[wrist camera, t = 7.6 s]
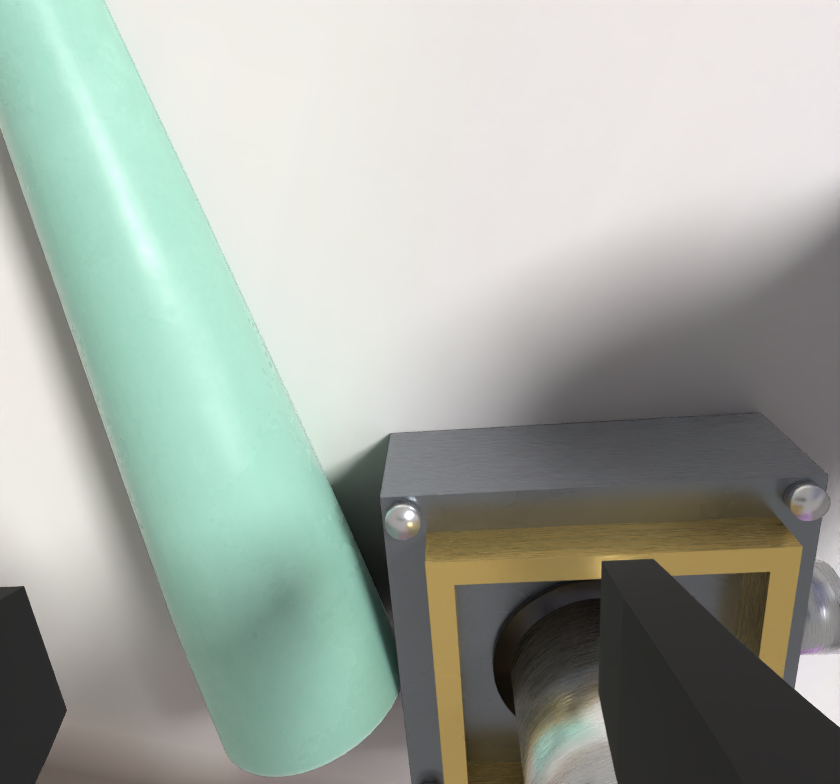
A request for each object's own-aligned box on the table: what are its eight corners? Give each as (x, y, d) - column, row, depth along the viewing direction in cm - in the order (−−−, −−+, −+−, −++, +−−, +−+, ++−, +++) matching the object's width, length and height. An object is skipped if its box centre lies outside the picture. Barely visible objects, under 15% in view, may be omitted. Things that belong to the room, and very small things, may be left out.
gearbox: (817, 409, 18) (935, 499, 14) (775, 696, 22) (857, 838, 18) (390, 433, 19) (375, 526, 15) (418, 707, 23) (412, 847, 18)
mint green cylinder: (-360, -1040, 7) (400, 756, 16) (-29, -559, 12) (410, 605, 21) (-730, -789, 8) (195, 796, 17) (-272, -433, 13) (252, 642, 22)
